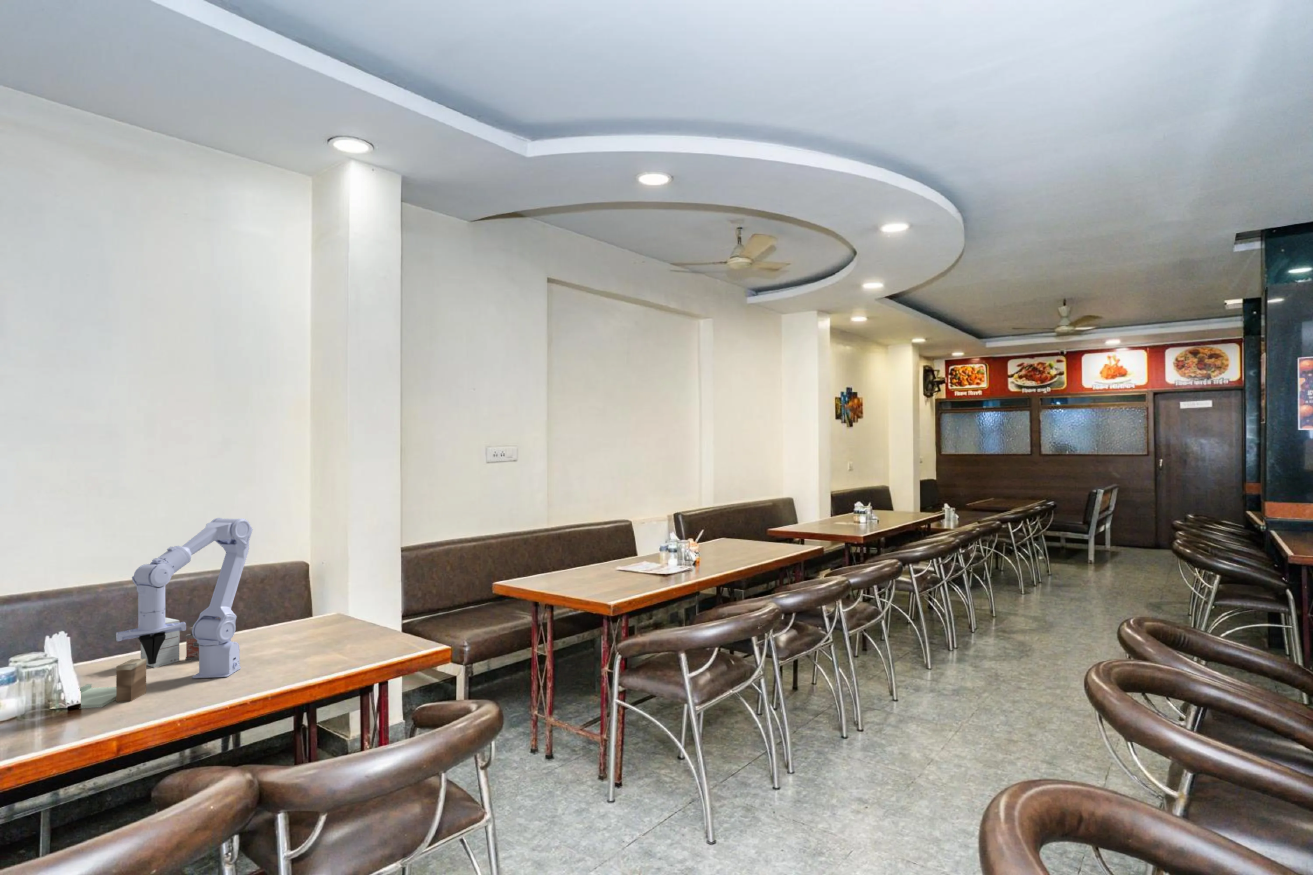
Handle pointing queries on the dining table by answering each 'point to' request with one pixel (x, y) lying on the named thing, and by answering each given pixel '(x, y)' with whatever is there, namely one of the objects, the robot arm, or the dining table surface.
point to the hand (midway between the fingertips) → (151, 663)
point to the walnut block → (130, 680)
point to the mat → (96, 696)
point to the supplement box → (166, 648)
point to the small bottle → (191, 647)
